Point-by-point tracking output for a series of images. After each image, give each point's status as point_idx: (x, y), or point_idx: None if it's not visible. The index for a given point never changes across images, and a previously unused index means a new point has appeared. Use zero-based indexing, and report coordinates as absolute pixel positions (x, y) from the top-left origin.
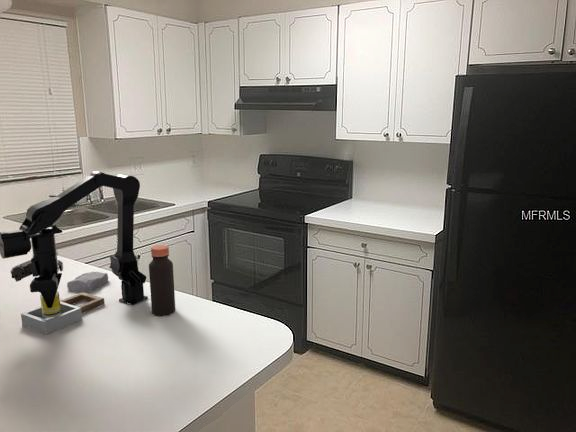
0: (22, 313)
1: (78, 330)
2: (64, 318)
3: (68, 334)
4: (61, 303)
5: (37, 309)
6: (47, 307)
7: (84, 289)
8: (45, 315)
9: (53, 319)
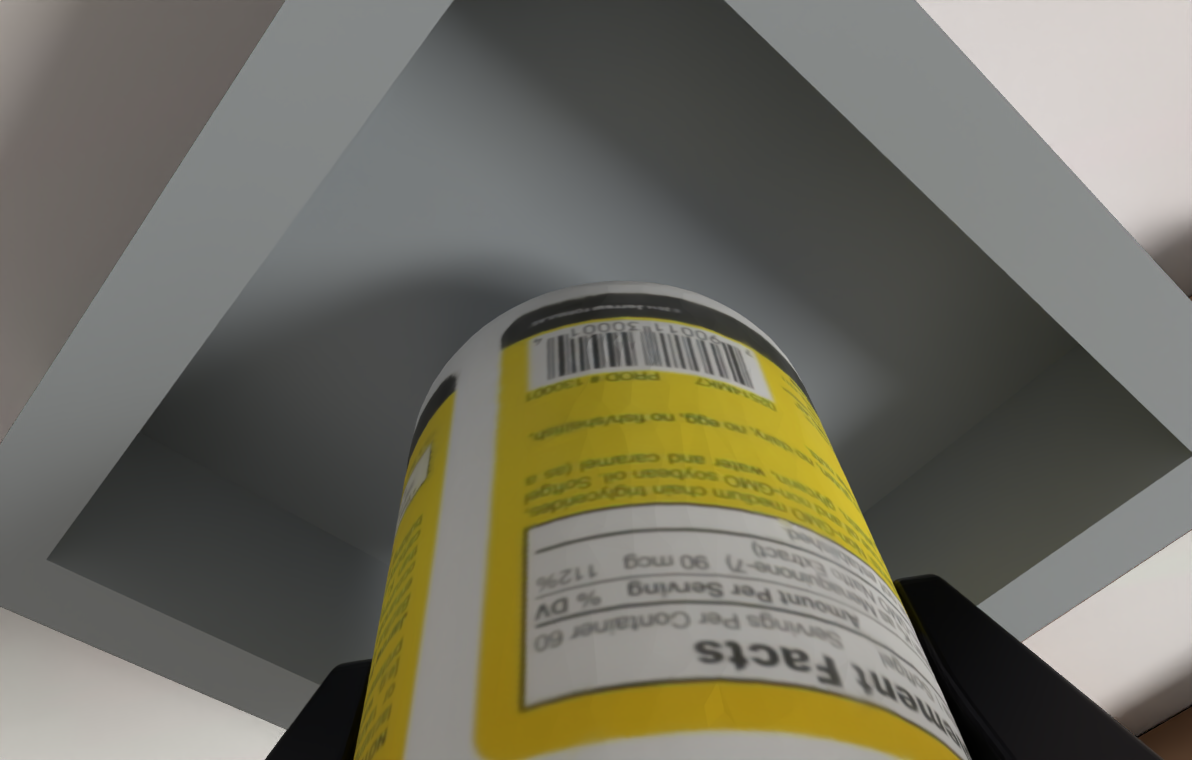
0: None
1: (248, 735)
2: None
3: (106, 666)
4: (1036, 577)
5: (851, 118)
6: (330, 673)
7: None
8: (422, 418)
9: (128, 653)
